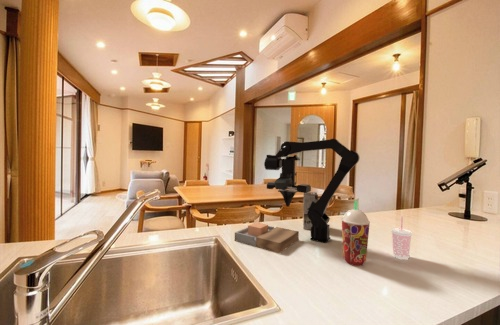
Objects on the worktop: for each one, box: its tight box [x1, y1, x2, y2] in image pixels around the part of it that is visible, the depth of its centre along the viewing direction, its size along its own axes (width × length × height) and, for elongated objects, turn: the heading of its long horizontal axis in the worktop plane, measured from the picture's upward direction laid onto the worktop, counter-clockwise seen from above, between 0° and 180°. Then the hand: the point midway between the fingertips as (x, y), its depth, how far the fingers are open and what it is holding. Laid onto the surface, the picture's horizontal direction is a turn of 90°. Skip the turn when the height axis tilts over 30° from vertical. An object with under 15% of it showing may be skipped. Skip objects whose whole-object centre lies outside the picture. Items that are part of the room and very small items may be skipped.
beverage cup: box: [390, 215, 413, 260], centre depth 83 cm, size 6×6×14 cm
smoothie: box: [341, 200, 371, 267], centre depth 78 cm, size 8×8×20 cm
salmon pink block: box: [247, 221, 269, 236], centre depth 100 cm, size 6×6×4 cm
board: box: [255, 226, 300, 254], centre depth 95 cm, size 10×16×4 cm, turn 145°
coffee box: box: [302, 191, 319, 230], centre depth 116 cm, size 9×6×16 cm
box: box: [234, 225, 275, 247], centre depth 101 cm, size 10×16×3 cm, turn 145°
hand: (287, 206), depth 105 cm, fingers closed
